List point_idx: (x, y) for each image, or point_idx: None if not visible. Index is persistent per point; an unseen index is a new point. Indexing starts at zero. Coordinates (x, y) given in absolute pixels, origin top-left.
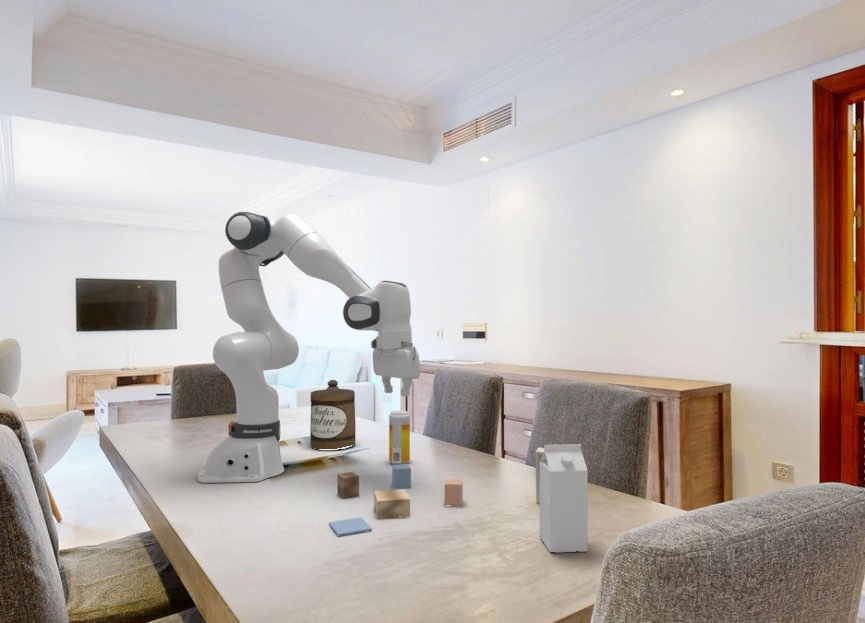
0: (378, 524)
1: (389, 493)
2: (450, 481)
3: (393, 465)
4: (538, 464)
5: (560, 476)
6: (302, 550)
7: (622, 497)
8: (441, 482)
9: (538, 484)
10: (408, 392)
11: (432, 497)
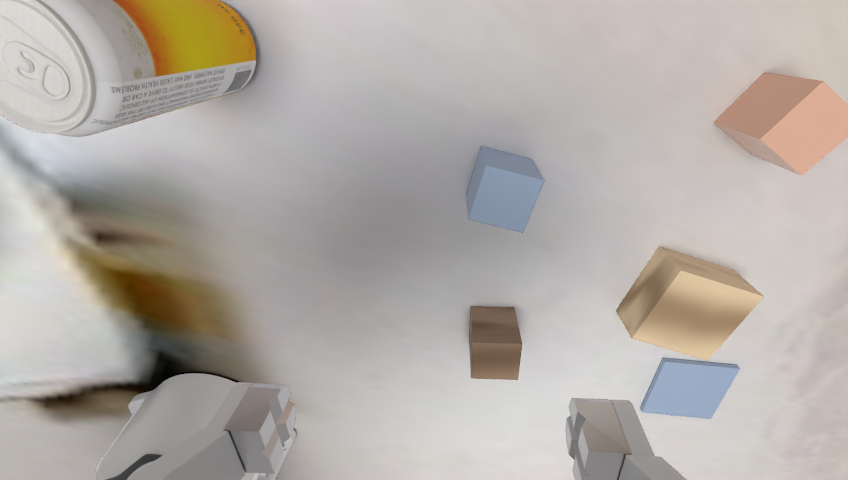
0: None
1: (678, 317)
2: (797, 139)
3: (474, 217)
4: None
5: None
6: (711, 464)
7: None
8: (545, 26)
9: None
10: (637, 431)
11: (660, 146)
